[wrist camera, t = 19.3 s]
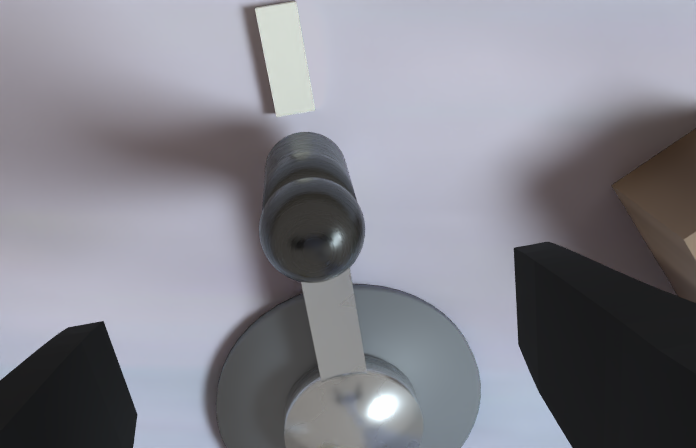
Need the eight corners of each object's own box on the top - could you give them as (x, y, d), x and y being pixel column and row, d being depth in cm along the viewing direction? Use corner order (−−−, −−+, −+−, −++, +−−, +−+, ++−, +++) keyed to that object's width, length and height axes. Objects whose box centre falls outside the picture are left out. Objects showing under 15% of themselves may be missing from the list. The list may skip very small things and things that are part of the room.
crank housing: (485, 471, 27) (488, 480, 27) (248, 515, 27) (247, 525, 26) (444, -25, 19) (447, -23, 19) (105, 32, 19) (100, 35, 18)
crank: (423, 449, 25) (467, 606, 19) (297, 472, 25) (302, 637, 19) (378, 107, 20) (421, 181, 14) (215, 134, 20) (187, 221, 14)
